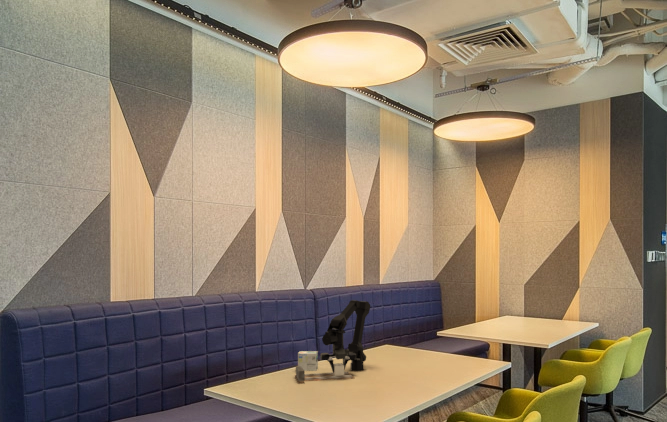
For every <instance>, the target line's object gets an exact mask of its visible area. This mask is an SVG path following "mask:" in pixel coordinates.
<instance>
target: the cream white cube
mask: <svg viewBox="0 0 667 422" xmlns="http://www.w3.org/2000/svg"><path fill="white" fill-rule="evenodd" d="M333 365H334V373H333V376H344V372H345V370H344V365H343V362H340V363H336V362H335V363H333Z"/></svg>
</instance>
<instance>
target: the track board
mask: <svg viewBox="0 0 667 422" xmlns="http://www.w3.org/2000/svg"><path fill="white" fill-rule="evenodd" d="M305 372H306V371H304V369H303V368H302V366H298V365H296V366H295V375H294V379H295V381H296V380H297V381H296V383H297V384H300V385H301V384H305V382H317V381H319V382H320V381H334V380H336V381H339V380H352V379H353V380H354V379H355V377H354V376H353V375H352V374H351V372H349V371H344V376H333V371H332V372H318V373H317V372H316V373H315V372H313V373H305Z"/></svg>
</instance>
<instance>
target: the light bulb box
mask: <svg viewBox="0 0 667 422" xmlns="http://www.w3.org/2000/svg"><path fill="white" fill-rule="evenodd" d="M318 352H319V351H318V350H317V351H316V350H315V351H314V350H313V351H312V350H308V351H307V350H306V351H305V350H304V351H303V350H301V351H300V350H299V352H297V366H302V368H303V369H304V371H305V372H317V371H318V370H319V361H318V360H319V357H318V356H319V355H318Z"/></svg>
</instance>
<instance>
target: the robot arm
mask: <svg viewBox="0 0 667 422" xmlns="http://www.w3.org/2000/svg"><path fill="white" fill-rule="evenodd" d="M370 309H371V304H370V302H369V301H364V300H356V299H351V300H350V301H349V302H348V304H347V305H346V307H345V308H344V309H343V310H342V311H341V313H340V314H338V315H336V316H334V317H332V319H331V321H330V323H329V325H328V328H327V330H326V331H325V332H324V333H325V334H323V336H322V338H321V340H322V341H321V342H322V344H323V345H325V346H330V345H332V354H331V353H330V354H329V352H321V353H320V354H319V358H320V360H321V361H327V362H329V365H330V367H331V371H332V372H333V373H334V365H333V364H334V360H333V359H335V358H336V360H342V364H343V365H344V371H345V369H346V366H347V364H348V362H349V361H351V362H350V371H351V372H354V371H355V372H361V371H364V362H365V361H367V355H366V354H365V352H364V346H363V344H362V343H363V342H362V341H363V335H364V329H365V328H364V327H365V323H366V317H367V316H368V315H369V314H370ZM354 312H355V315H356V319H355V325H354V331H353V338H352V341H351V343H348V346H347V348H345V346H344V334H345V333H346V331H345V328H346V326H347V325H348V320H349V318H351V316H352V315H353V313H354Z"/></svg>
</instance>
